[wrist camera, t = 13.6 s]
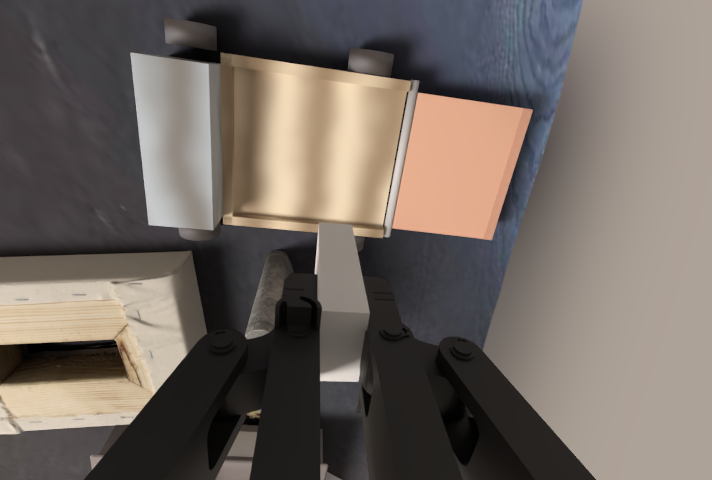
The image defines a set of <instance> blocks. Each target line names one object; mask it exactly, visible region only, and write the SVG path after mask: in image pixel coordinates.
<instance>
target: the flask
mask: <svg viewBox="0 0 712 480" xmlns="http://www.w3.org/2000/svg"><path fill="white" fill-rule="evenodd" d="M291 273H294V271H293V268H292V265H291V262H290V260H289V257H288V255H287V254H286V253H285V252H283V251H280V250H274V251H272V252H270V253H269V254H268V256H267V258H266V262H265V265H264V269H263V272H262V276H261V280H260V283H259V287H258V290H257V294H256V297H255V301H254V304H253V308H252V312H251V315H250V319H249V322H248V326H247V329H246V333H245V337H246V339H251V338H256V337H260V336H263V335H265V334H267V333H269V332H270V331H272V330H273V329H274V328H275V305H276V303H277V302H278V300H280V299H281V298H282V292H283V286H284V280H285V279H286V278H287V277H288V276H289V275H290V274H291ZM257 411H258V412H259V413H261V409H260V410H257Z"/></svg>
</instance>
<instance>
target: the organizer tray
mask: <svg viewBox="0 0 712 480" xmlns="http://www.w3.org/2000/svg"><path fill="white" fill-rule="evenodd" d="M128 426H129V424H126V425H116V426H115V428H114V430H113V431H112V433H111V435H110V437H109V438H108V440H107V442H106V444H105V445H104V447H103V449H102V451H101V452H100V454H99V455H91V456H90V459H91V465H92V469H93V468H94V467H95V466H96V465H97V463H98V462H99V461H100V460H101V459H102V457H103V456H104V455H105V454H106V452H107V451H108V450H109V449H110V448H111V446H112V445H113V444H114V443H115V441H116V440H117V439H118V438H119V437H120V435H121V434H122V433H123V432H124V431H125V429H126V428H127V427H128ZM257 431H258V426H256V425H247V423H246V425H242V427H241V429H240V431H239V433H238V435H237V437H236V439H235V441H234V443H233V445H232V447H231V449H230V451H229V453H228V455H227V457H226V459H225V461H224V463H223V465H222V467H221V469H220V471H219V473H218V475H217V477H216V479H215V480H249V479H250V473H251V467H252V461H253V455H254V449H255V443H256V437H257ZM327 469H328V464H323V429H320V480H325V477H326V473H327Z"/></svg>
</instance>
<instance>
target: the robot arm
mask: <svg viewBox="0 0 712 480" xmlns="http://www.w3.org/2000/svg"><path fill="white" fill-rule="evenodd" d="M360 373H361V380H362V383H361V388H360V394H359V400H358V406H357V413H360V410H361V411H362V420H363V428H364V437H365V445H366V454H367V462H368V471H369V479H370V480H596V479H595V478H594V477H593V476H592V475H591V473H590V472H589V471H588V470H587V469H586V468H585V467H584V465H582V463H581V462H580V461H579V460H578V459H577V458H576V456H575V455H574V454H573V453H572V452H571V451H570V450H569V449H568V447H567V446H566V445H565V444H564V443H563V442H562V441H561V439H560V438H559V437H558V436H557V435H556V434H555V433H554V432H553V430H552V429H551V428H550V427H549V426H548V425H547V424H546V422H545V421H544V420H543V419H542V418H541V417H540V416H539V415H538V413H537V412H536V411H535V410H534V409H533V408H532V407H531V406H530V404H529V403H528V402H527V401H526V400H525V399H524V398H523V396H522V395H521V394H520V393H519V392H518V391H517V390H516V389H515V387H514V386H513V385H512V384H511V383H510V382H509V381H508V379H507V378H506V377H505V376H504V375H503V374H502V373H501V371H500V370H499V369H498V368H497V367H496V366H495V365H494V364H493V362H492V361H491V360H490V359H489V358H488V357H487V356H486V354H485V353H484V352H483V351H482V350H481V349H480V348H479V347H478V346H477V345H476V344H474V343H473V342H471V341H469V340H467V339H464V338H460V337H447V338H444V339H443V340H442V341H441V342H440V344H439V346H436V345H432V344H429V343H425V342H422V341H419V340H417V339H415V338H414V336H413V333H412V332H411V330H410V329H409V328H408V327H407V326H405V325H404V324H402V322H401V319H400V315H399V312H398V309H397V306H396V303H395V301H394V297H393V295H392V290H391V287H390V285H389V284H388V283H387V282H386V281H385V280H384V279H383V278H382V277H369V276H362V272H361V267H360V262H359V257H358V252H357V247H356V242H355V237H354V232H353V227H352V225H347V224H335V223H322V222H319V228H318V240H317V251H316V263H315V274H303V273H291V274H290V275H289V276H288V277H287V278H286V279H285V280H284V286H283V292H282V298H281V299H280V300H278V302H277V303H276V305H275V328H274V329H273V330H272V331H270V332H269V333H267V334H265V335H263V336H260V337H256V338H251V339H246V337H245V336H244V335H243V334H242V333H241V332H238V331H236V330H233V329H221V330H215V331H212V332H210V333H208V334H205V335H204V336H203V337H202V338H201V339H200V340H199V341H198V342H197V343H196V344H195V345H194V347H193V348H192V349H191V350H190V351H189V353H188V354H187V355H186V356H185V358H184V359H183V360H182V361H181V362H180V364H179V365H178V366H177V367H176V369H175V370H174V371H173V372H172V373H171V375H170V376H169V377H168V378H167V379H166V381H165V382H164V383H163V384H162V386H161V387H160V388H159V389H158V390H157V392H156V393H155V394H154V395H153V396H152V398H151V399H150V400H149V401H148V403H147V404H146V405H145V406H144V407H143V409H142V410H141V411H140V412H139V414H138V415H137V416H136V417H135V418H134V420H133V421H132V422H131V423H130V424H129V426H128V427H127V428H126V429H125V431H124V432H123V433H122V434H121V435H120V437H119V438H118V439H117V440H116V441H115V443H114V444H113V445H112V446H111V448H110V449H109V450H108V451H107V452H106V454H105V455H104V456H103V457H102V459H101V460H100V461H99V462H98V463H97V465H96V466H95V467H94V468H93V469H92V471H91V472H90V473H89V474H88V476H87V477H86V478H85V479H84V480H215V479H216V477H217V475H218V473H219V471H220V469H221V467H222V465H223V463H224V461H225V459H226V457H227V455H228V453H229V451H230V449H231V447H232V445H233V443H234V441H235V439H236V437H237V435H238V433H239V431H240V429H241V427H242V425H243V423H244V421H245V419H246V416H247V413H250V412H253V411H257V410H260V409H261V413H260V419H259V425H258V431H257V437H256V443H255V449H254V455H253V461H252V467H251V473H250V479H249V480H320V381H348V382H358V380H359V374H360Z"/></svg>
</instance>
